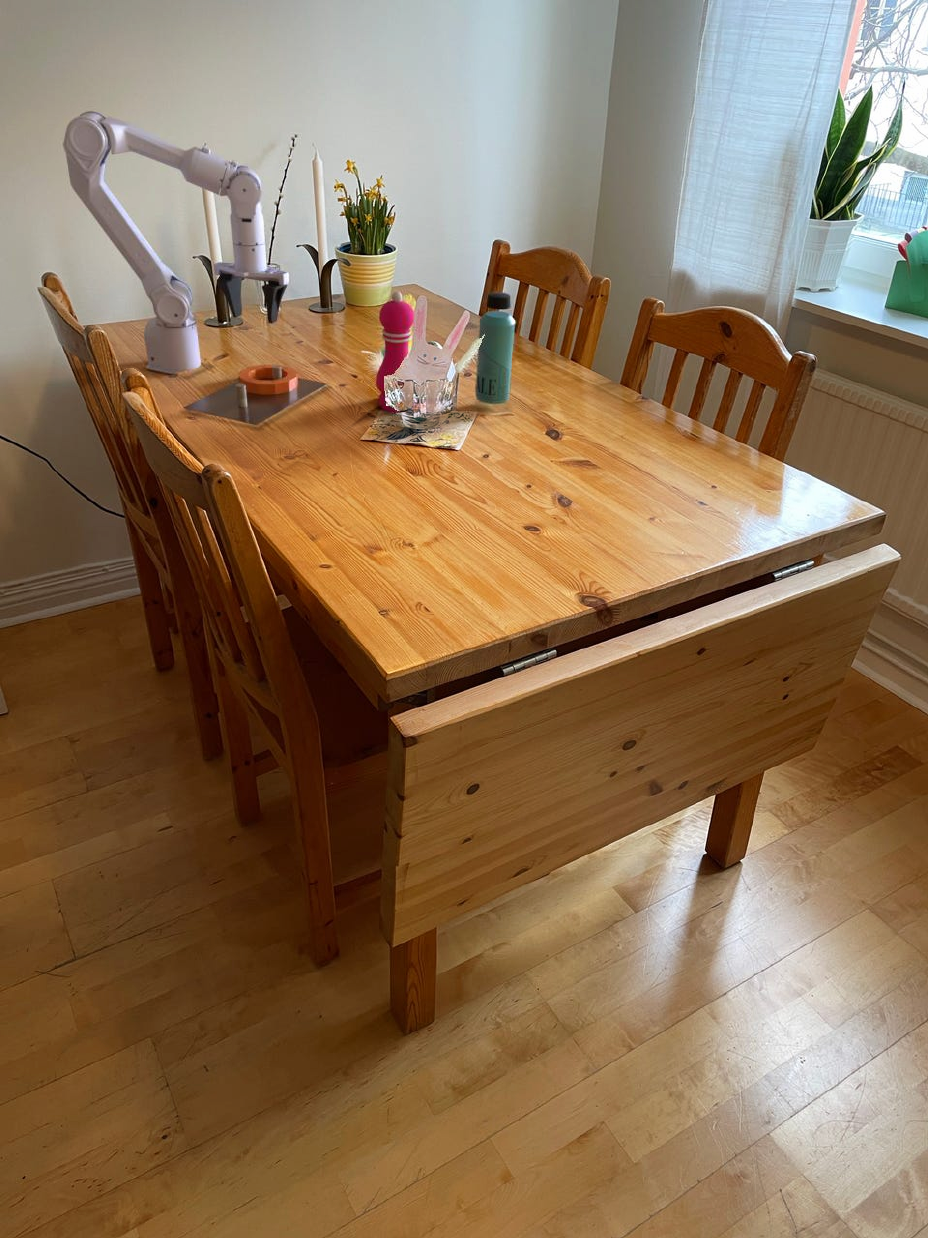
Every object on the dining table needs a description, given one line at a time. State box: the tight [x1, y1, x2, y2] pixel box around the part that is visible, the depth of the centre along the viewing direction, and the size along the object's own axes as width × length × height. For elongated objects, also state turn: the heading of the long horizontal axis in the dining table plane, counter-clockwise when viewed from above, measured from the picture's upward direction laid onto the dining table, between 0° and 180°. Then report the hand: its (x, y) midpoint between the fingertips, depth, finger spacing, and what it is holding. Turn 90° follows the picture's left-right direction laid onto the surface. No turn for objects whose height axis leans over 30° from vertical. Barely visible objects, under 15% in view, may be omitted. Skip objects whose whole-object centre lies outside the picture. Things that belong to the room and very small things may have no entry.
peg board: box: [183, 364, 328, 426], centre depth 158 cm, size 15×23×4 cm, turn 157°
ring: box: [238, 364, 299, 395], centre depth 163 cm, size 10×10×2 cm
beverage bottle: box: [474, 291, 516, 405], centre depth 157 cm, size 6×7×20 cm
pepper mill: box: [375, 290, 415, 413], centre depth 155 cm, size 7×7×20 cm
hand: (255, 318), depth 168 cm, fingers open, 7 cm apart
